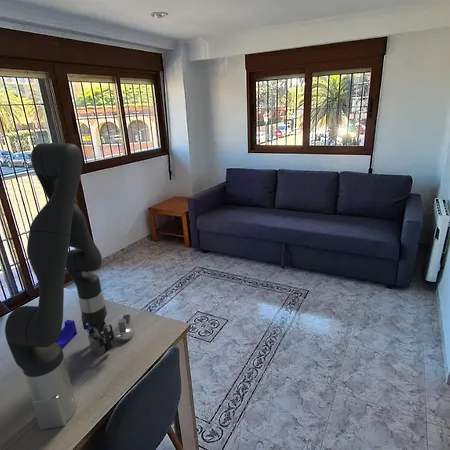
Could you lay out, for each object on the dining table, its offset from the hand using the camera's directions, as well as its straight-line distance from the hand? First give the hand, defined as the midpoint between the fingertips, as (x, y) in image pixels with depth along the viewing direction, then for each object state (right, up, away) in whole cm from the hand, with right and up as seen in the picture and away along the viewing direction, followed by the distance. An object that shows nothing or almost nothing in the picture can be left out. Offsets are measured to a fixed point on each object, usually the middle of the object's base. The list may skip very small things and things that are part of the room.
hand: (101, 345), depth 109 cm
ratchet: (+5, +2, +9) cm, 11 cm away
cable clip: (-15, -1, +3) cm, 16 cm away
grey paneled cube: (0, -1, 0) cm, 1 cm away
